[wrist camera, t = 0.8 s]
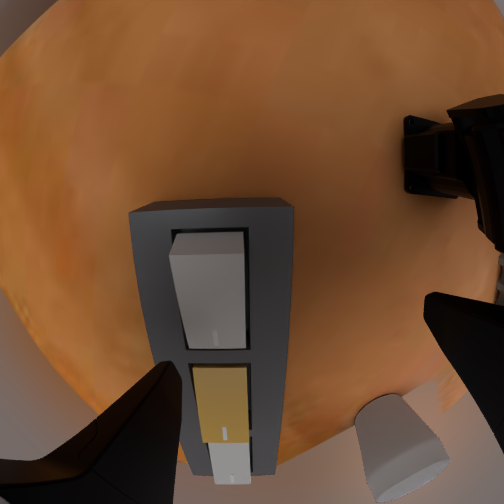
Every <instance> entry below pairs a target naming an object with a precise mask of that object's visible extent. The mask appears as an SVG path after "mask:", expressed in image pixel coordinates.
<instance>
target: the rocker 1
mask: <svg viewBox="0 0 504 504" xmlns="http://www.w3.org/2000/svg"><path fill="white" fill-rule="evenodd" d="M169 259H170V265H171V270H172V275H173V280H174V285H175V290H176V294H177V299H178V304H179V308H180V313H181V317H182V321H183V325H184V329H185V334H186V338H187V342H188V345H189V348H193V349H231V348H246V328H245V271H244V239H243V232H212V233H181V234H177V235H176V238H175V240H174V243H173V245H172V248H171V251H170V253H169Z"/></svg>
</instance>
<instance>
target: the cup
mask: <svg viewBox="0 0 504 504" xmlns="http://www.w3.org/2000/svg"><path fill="white" fill-rule="evenodd" d="M355 426H356V431H357V435H358V440H359V445H360V449H361V455H362V460H363V465H364V471H365V476H366V481H367V484H368V486H369V488H370V490H371V492H372V494H373V497H374V499H375V501H376V503H385V502H389V501H392V500H395V499H398V498H400V497H403V496H405V495H407V494H409V493H411V492H413V491H415V490H417V489H418V488H420V487H422V486H423V485H425V484H426V483H428V482H429V481H431V480H432V479H434V478H435V477H436V476H437V475H439V474H440V473H441V472H442V471H443V470H444V469H445V468H446V467H447V466H448V464H449V463H450V458H449V456H448V454H447V452H446V450H445V448H444V446H443V444H442V442H441V440H440V439H439V437H438V436H437V435H436V434H435V433H434V432H433V431H432V430H431V429H430V428H429V426H428V425H427V424H426V423H425V422H424V421H423V420H422V419H421V418H420V417H419V416H418V415H417V414H416V413H415V411H414V410H413V409H412V408H411V407H410V406H409V405H408V404H407V403H406V402H405V401H404V400H403V398H402V397H401V396H399V395H397V394H389V395H385V396H382V397H379V398H377V399H375V400H373V401H372V402H370V403H369V404H367V405H366V406H365V407H364V408H363V409H362V410H361V411H360V412H359V413H358V414H357V416H356V418H355Z"/></svg>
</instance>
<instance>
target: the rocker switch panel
mask: <svg viewBox="0 0 504 504" xmlns="http://www.w3.org/2000/svg"><path fill="white" fill-rule="evenodd" d="M129 222H130V232H131V240H132V249H133V256H134V264H135V270H136V277H137V283H138V289H139V295H140V300H141V305H142V310H143V315H144V320H145V325H146V330H147V334H148V338H149V343H150V347H151V351H152V355H153V359H154V363H155V366H156V365H157V364H158V363H159V362H161V361H168V360H171V361H172V362H173V363H174V365H175V366H176V368H177V370H178V372H179V374H180V376H181V378H182V383H183V385H182V422H181V431H180V439H179V441H180V444H181V446H182V449H183V451H184V454H185V456H186V459H187V461H188V464H189V466H190V468H191V471H192V473H193V475H202V476H214V475H213V469H212V464H211V458H210V452H209V446H208V443H203V441H202V435H201V428H200V422H199V415H198V408H197V400H196V393H195V385H194V376H193V365H194V363H246V368H247V396H248V422H249V453H250V475H251V476H260V475H274V474H275V469H276V462H277V454H278V446H279V438H280V429H281V420H282V410H283V400H284V389H285V378H286V366H287V353H288V339H289V324H290V307H291V287H292V264H293V232H294V206H292V205H290V204H289V203H287V202H286V201H284V200H283V199H281V198H226V199H198V200H178V201H161V202H153V203H150V204H148V205H146V206H143V207H141V208H138V209H136V210H134V211H131V212H129ZM212 232H243V239H244V271H245V328H246V348H231V349H193V348H189V345H188V342H187V338H186V334H185V329H184V325H183V321H182V317H181V313H180V308H179V304H178V299H177V294H176V290H175V285H174V280H173V275H172V270H171V265H170V259H169V253H170V251H171V248H172V245H173V243H174V240H175V238H176V235H177V234H181V233H212Z"/></svg>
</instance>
